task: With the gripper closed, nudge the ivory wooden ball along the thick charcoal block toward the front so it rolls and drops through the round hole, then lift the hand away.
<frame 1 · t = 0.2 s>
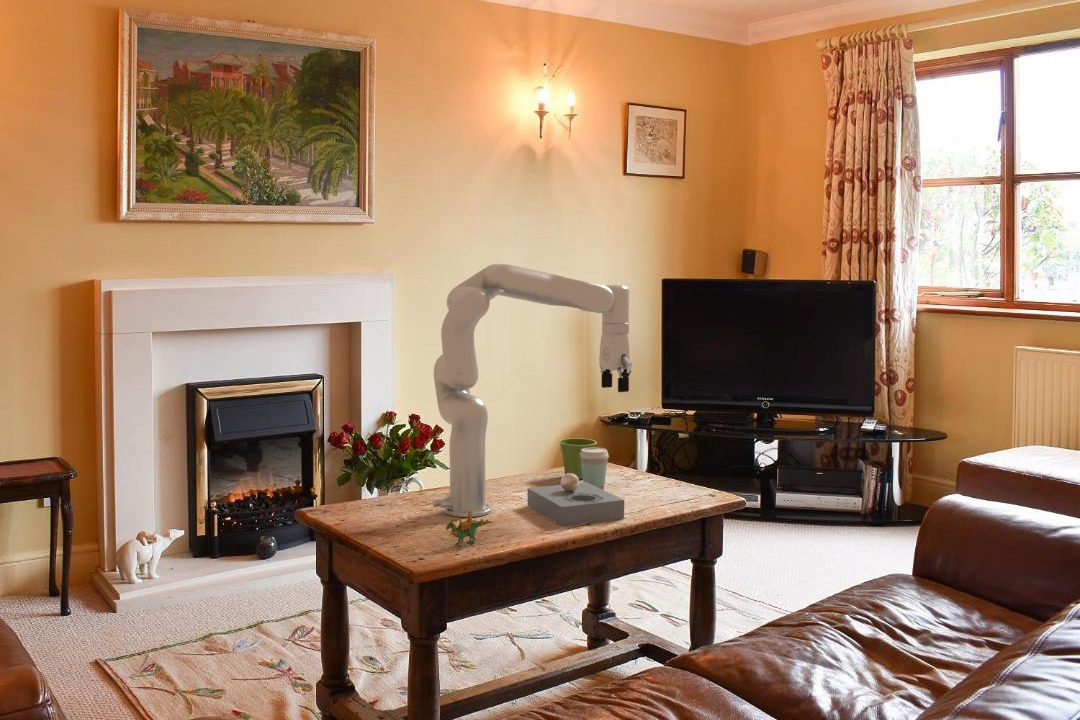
hand: (614, 389, 285), 31 cm above the table, tool pointing down, fingers open, 9 cm apart
ball: (569, 482, 272), point 7 cm above the table, touching deck
coffee cup: (593, 490, 295), on the table
deck: (574, 512, 270), on the table
figurine: (469, 544, 241), on the table
plant pot: (577, 478, 311), on the table
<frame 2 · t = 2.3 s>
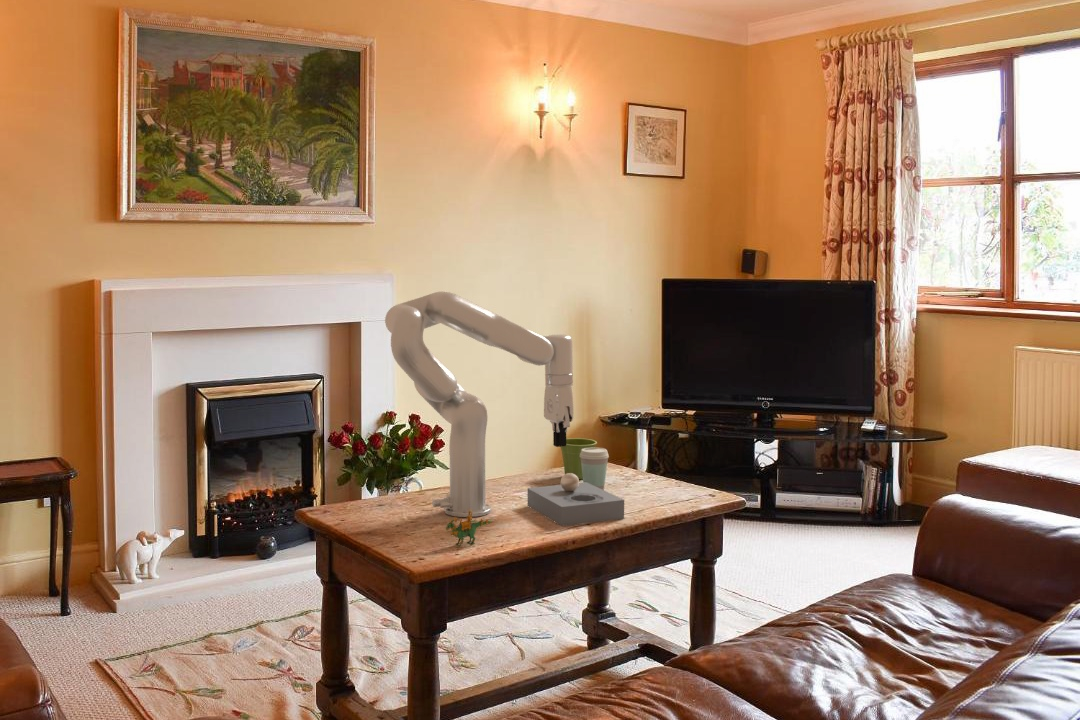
hand: (559, 445, 278), 16 cm above the table, tool pointing down, fingers closed
nothing on the table moved.
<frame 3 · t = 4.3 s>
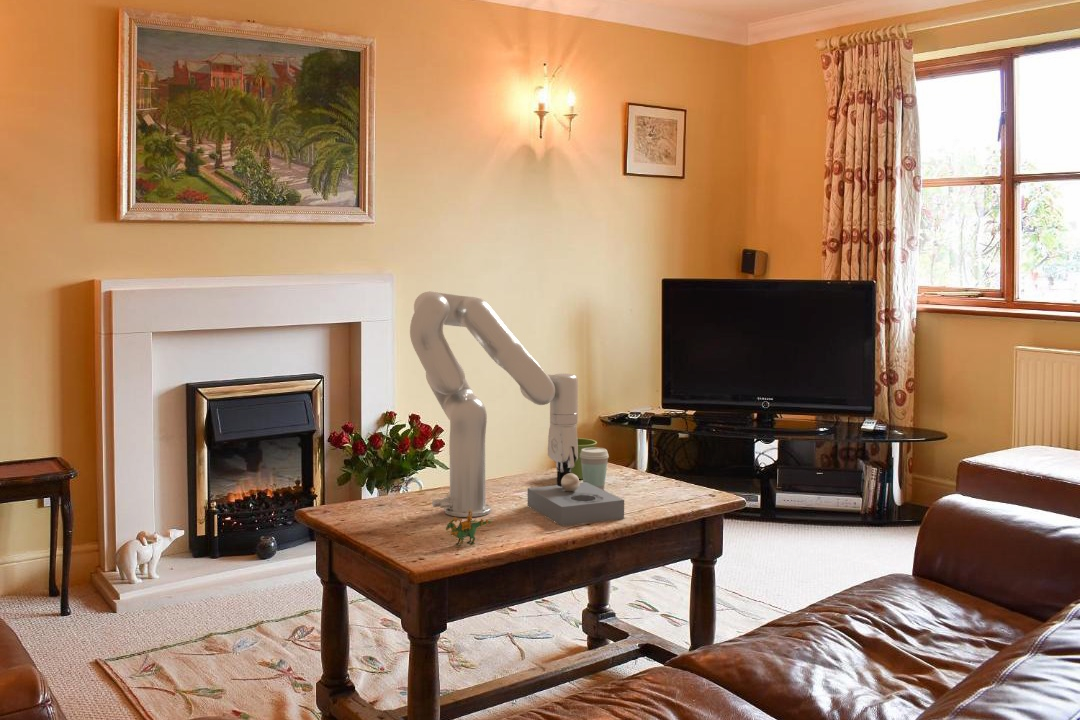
hand: (563, 485, 276), 6 cm above the table, tool pointing down, fingers closed
ball: (570, 482, 272), point 7 cm above the table, touching deck, gripper
everything else where it was.
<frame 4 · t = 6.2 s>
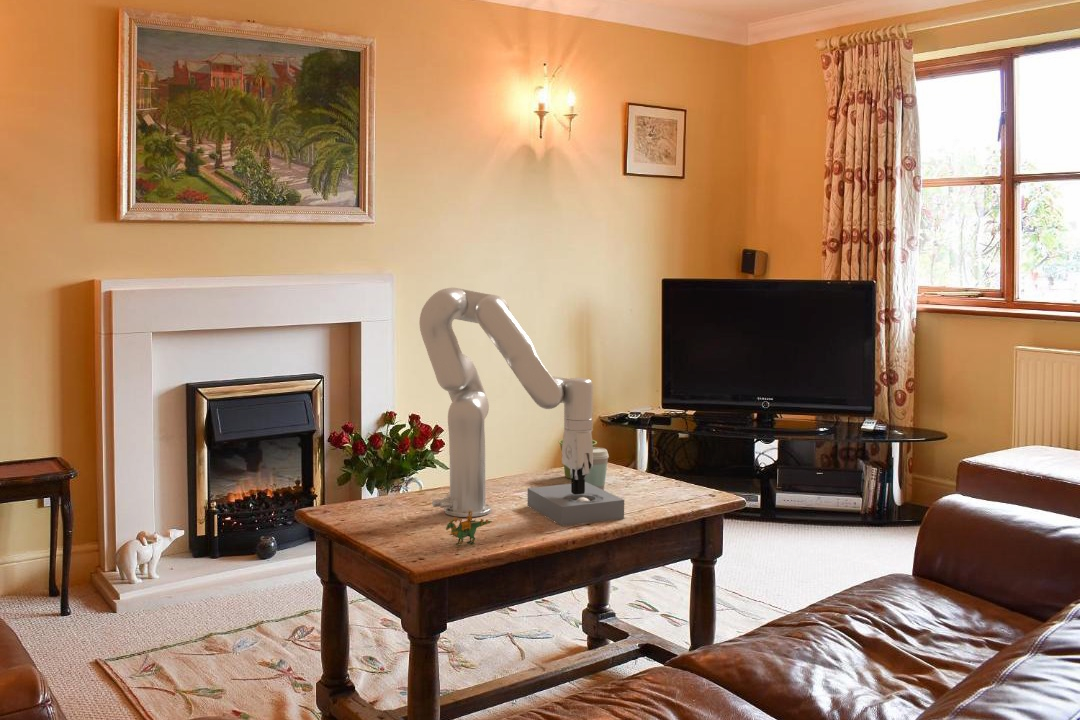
hand: (578, 493, 268), 6 cm above the table, tool pointing down, fingers closed
ball: (582, 506, 266), point 2 cm above the table, tilted 126°
everything else where it was.
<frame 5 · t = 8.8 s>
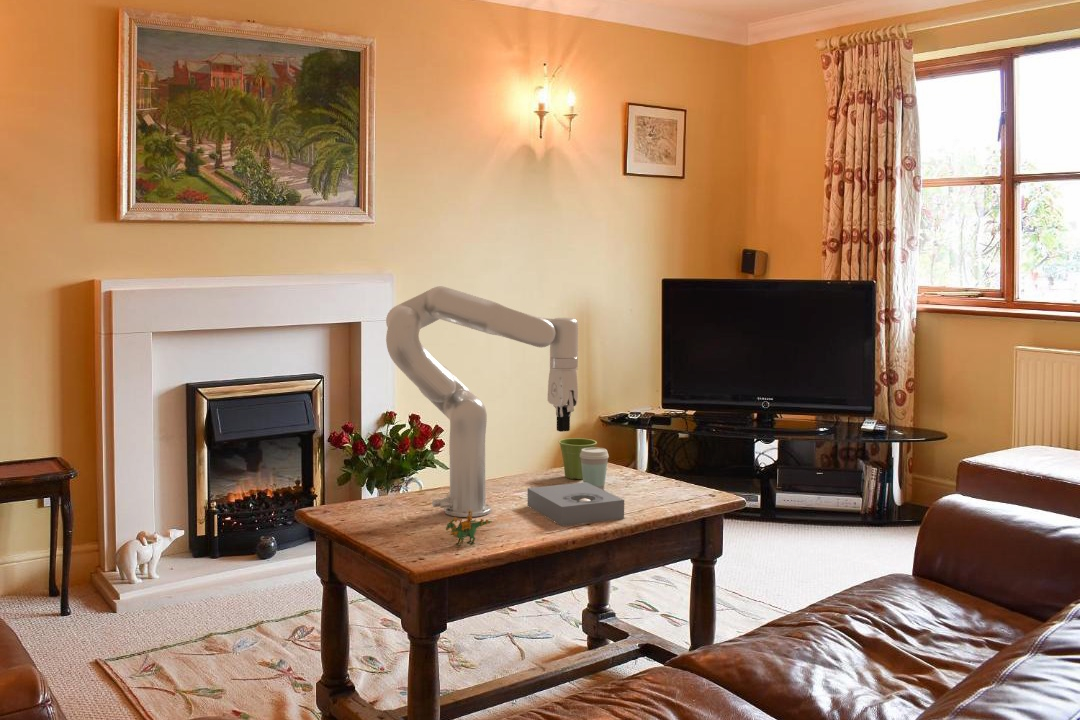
hand: (563, 430, 274), 21 cm above the table, tool pointing down, fingers closed
ball: (584, 508, 265), point 2 cm above the table, tilted 125°
everything else where it was.
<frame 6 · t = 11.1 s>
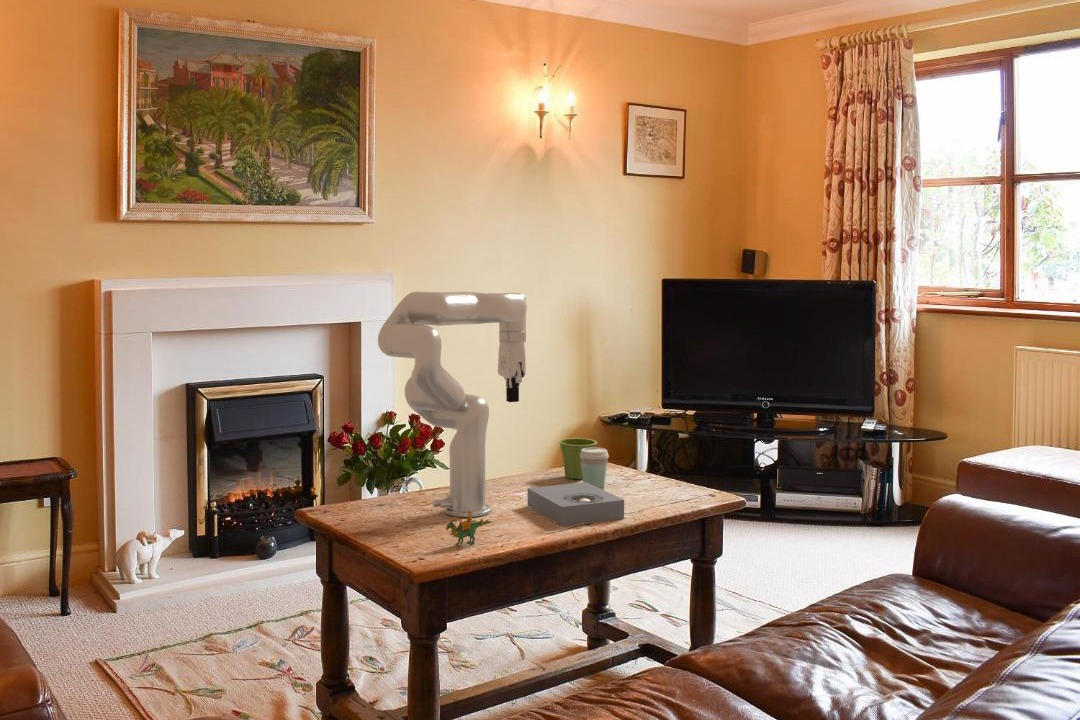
hand: (512, 401, 286), 27 cm above the table, tool pointing down, fingers closed
nothing on the table moved.
at the end: ball 0.6 cm from the target spot on the deck, point 2.5 cm above the deck's base; ball touching table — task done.
